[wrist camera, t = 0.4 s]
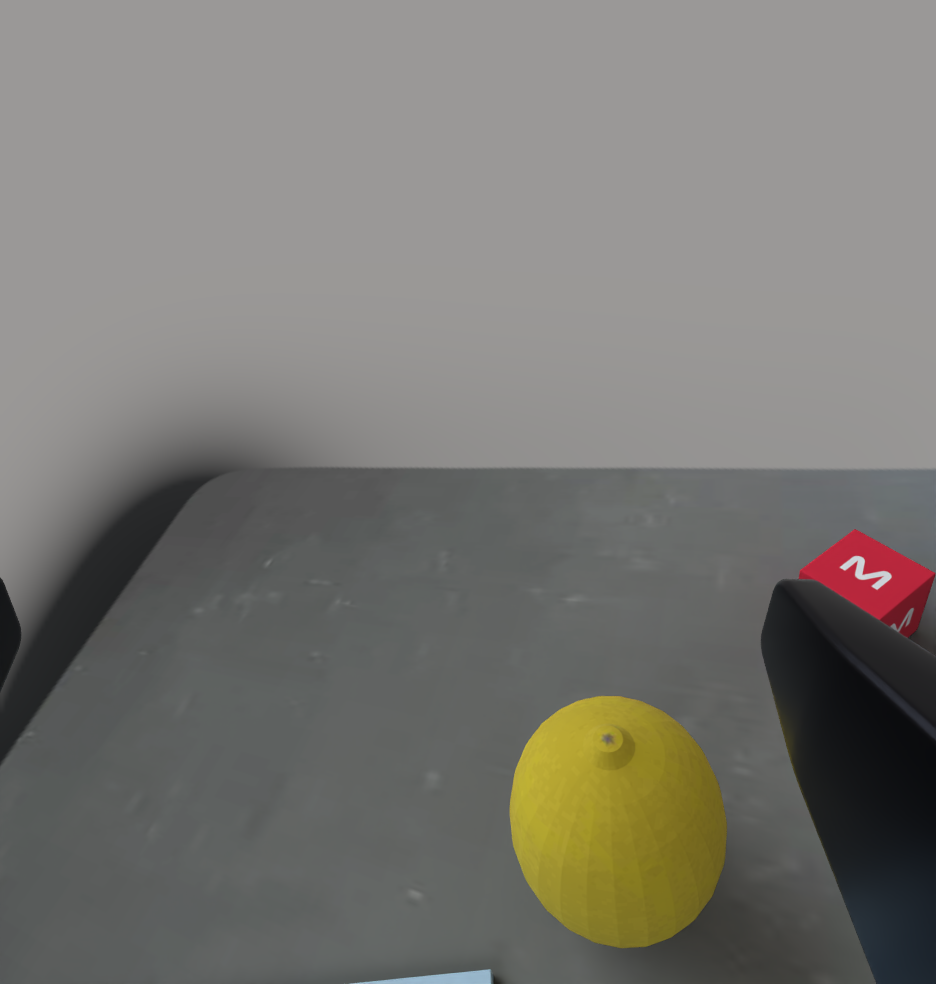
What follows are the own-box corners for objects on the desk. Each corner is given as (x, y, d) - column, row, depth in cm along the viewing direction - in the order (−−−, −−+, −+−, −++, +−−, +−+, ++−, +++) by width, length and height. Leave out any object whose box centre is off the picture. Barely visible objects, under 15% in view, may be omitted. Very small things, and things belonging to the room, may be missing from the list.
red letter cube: (917, 629, 27) (936, 573, 25) (864, 675, 26) (879, 619, 24) (842, 584, 29) (855, 528, 27) (790, 625, 28) (799, 570, 26)
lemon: (492, 906, 22) (441, 767, 17) (593, 764, 25) (574, 608, 20) (660, 1041, 19) (656, 920, 14) (753, 861, 22) (778, 706, 17)
